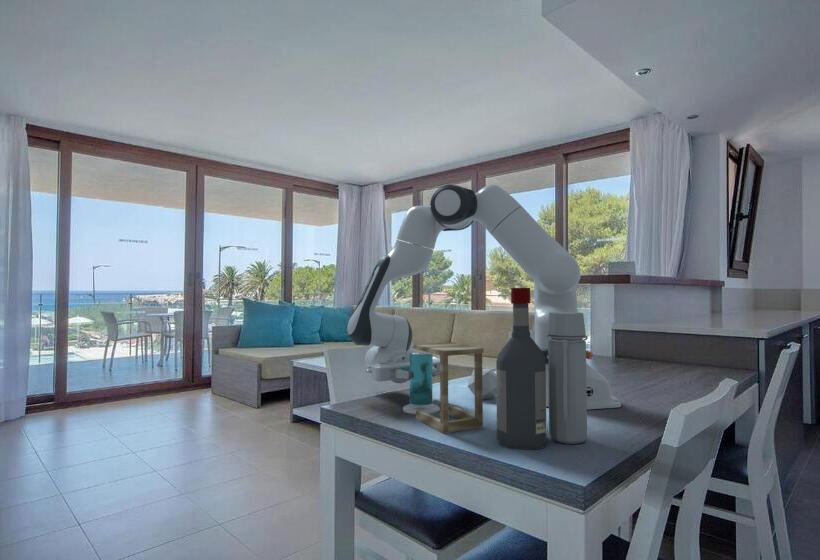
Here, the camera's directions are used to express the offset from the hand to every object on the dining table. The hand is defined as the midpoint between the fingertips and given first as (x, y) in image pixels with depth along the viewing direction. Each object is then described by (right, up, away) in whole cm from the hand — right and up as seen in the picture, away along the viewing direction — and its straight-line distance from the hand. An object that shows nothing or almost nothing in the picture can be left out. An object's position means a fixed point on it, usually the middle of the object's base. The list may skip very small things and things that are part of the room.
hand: (422, 374), depth 115 cm
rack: (+5, -9, -10) cm, 14 cm away
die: (+17, -9, +13) cm, 24 cm away
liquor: (+19, -9, -24) cm, 31 cm away
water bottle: (+28, -9, -23) cm, 37 cm away
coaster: (0, -9, +1) cm, 9 cm away
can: (0, -7, +1) cm, 7 cm away
